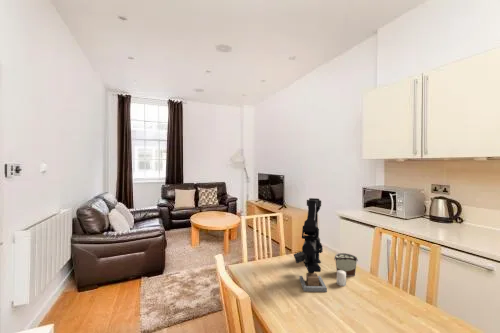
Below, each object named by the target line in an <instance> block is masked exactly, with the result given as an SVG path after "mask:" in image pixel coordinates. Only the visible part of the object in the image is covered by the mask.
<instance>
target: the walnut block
mask: <svg viewBox="0 0 500 333" xmlns="http://www.w3.org/2000/svg"><path fill="white" fill-rule="evenodd" d="M305 275H306V282H305V284H306V286H320V283H319V277H318V276H319V275H318V274H317V272H314V273H308V272H306V274H305Z"/></svg>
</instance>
